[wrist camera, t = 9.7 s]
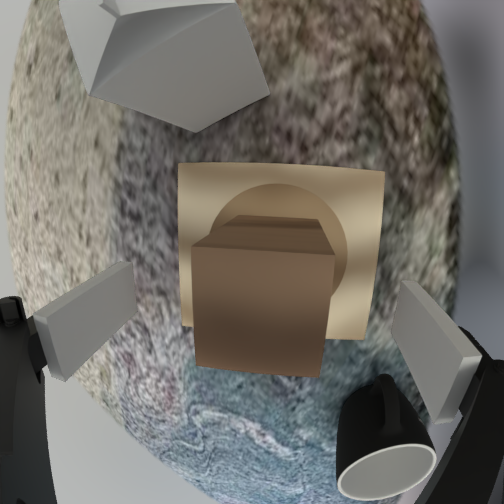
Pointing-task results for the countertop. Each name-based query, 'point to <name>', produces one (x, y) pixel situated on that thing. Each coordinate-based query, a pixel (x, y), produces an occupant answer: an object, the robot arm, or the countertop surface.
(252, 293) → the block
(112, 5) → the milk carton
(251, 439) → the countertop surface
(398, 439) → the mug
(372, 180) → the board
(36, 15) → the countertop surface
